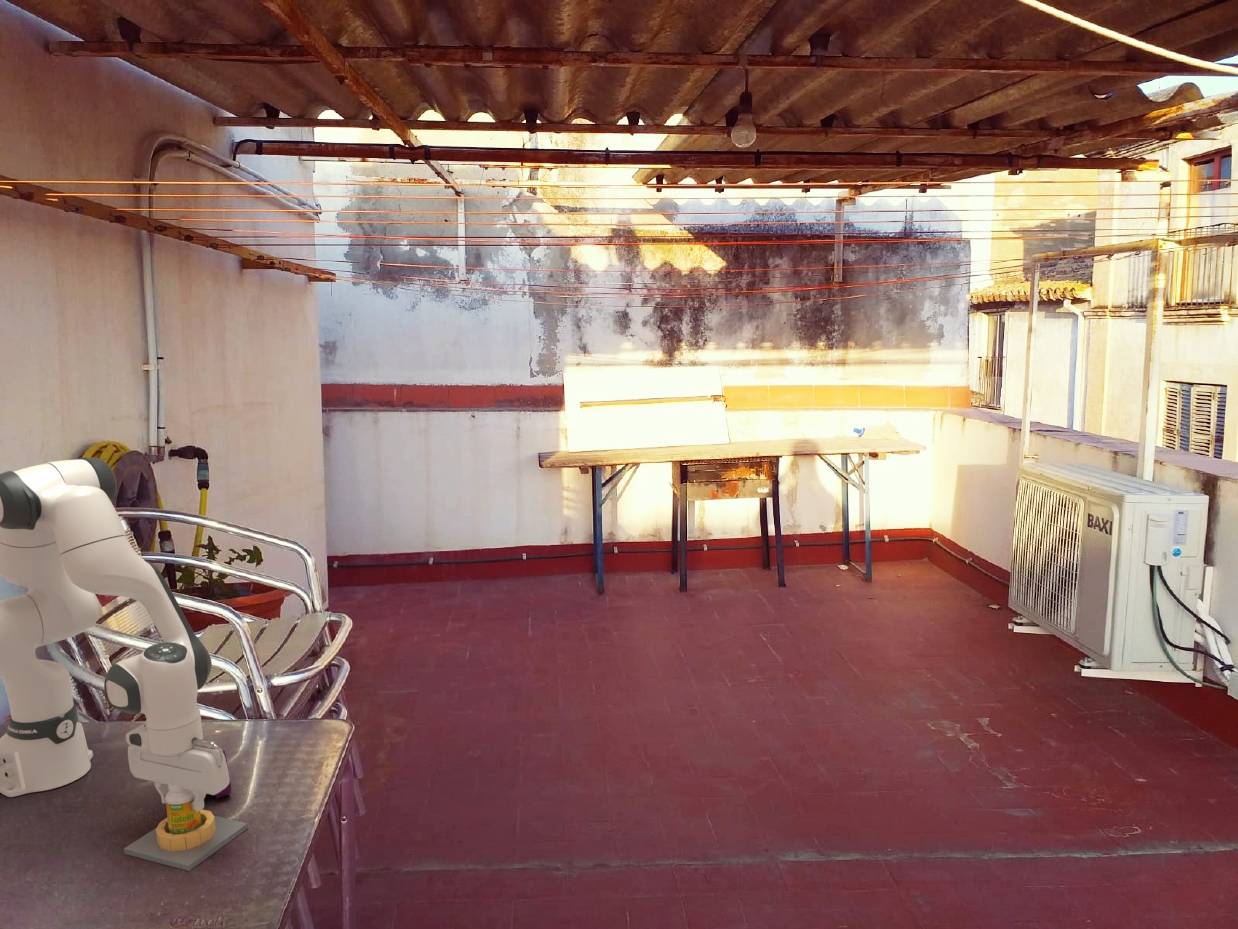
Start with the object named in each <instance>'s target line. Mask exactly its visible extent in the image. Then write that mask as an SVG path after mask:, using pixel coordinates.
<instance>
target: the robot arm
mask: <svg viewBox="0 0 1238 929" xmlns="http://www.w3.org/2000/svg"><path fill="white" fill-rule="evenodd" d="M117 486H118V485H117V479H116V476H115V473H114V471H113V469H112V467H111V465H109V464H108V463H107V462H106V461H105V460H104V459H102V458H98V457H89V456H88V457H79V458H76V459H64V460H55V461H48V462H44V463H42V464H37V465H36V464H35V465H32V466H28V467H24V468H21V469H20V468H19V469H18V470H14V471H12V470H7V471H4V472H1V473H0V577H1V578H2V579H3V580H4V581H5V582H7V583H10V584H12V585H15V586H19V587H23V588H28V590H27V592H26V593H24V594H21V595H16V596H12V597H8V598H4V599H2V600H0V679H1V681H2V683H3V685H4V688H5V693H6V696H7V701H8V705H9V710H10V711H9V712H10V714H9V715H7V716H5V717H3V718H2V719H3V720H4V721H3V723H4V724H6V723H7V728H6V732H5V733H4V734H3V736H1V737H0V793H1V794H2V795H4V796H6V797H8V798H14V797H18V796H22V795H25V794H26V795H27V794H30V793H38V792H44V791H49V790H53V789H56V788H59V787H63V786H65V785H68V784H70V783H73V782H75V781H76V780H79V779H80V778H82V777H83V776H85V775H86V774H88V772H89V771H90V770H91V767H92V763H91V760H92V758H93V757H94V753H93V750H92V749H89V747H88V745H87V741H86V740H87V739H86V736H85V732H84V727H83V725H82V722H79V715H78V714H79V711H78V708H77V704H76V703H75V702H74V697H73V689H72V681H71V674H70V672H69V671H68V669H67V668H66V667H65V666H64V665H63V664H62V663H60V662H57V661H54V660H48V659H41V658H37V654H36V649H37V648H39V647H43V646H46V645H50V644H53V643H58V642H60V641H63V640H67V639H70V638H73V637H75V636H77V635H79V634H80V635H81V633H84V632H85V631H87V630H90V629H92V628H93V627H94V626H95V625H96V623H97V621H98V619H99V616H100V610H101V609H100V601H99V600H98V597H97V595H99V596H100V595H101V596H115V597H117V596H118V597H125V598H128V599H132V600H135V601H137V602H138V603H140V604H141V605H142V606H143V607H144V608H145V610H146V612H147V613H148V615H149V616H150V619H151V620H152V622H153V624H154V626H155V628H156V630H157V631H158V634H159V636H160V637H161V638H162V640H163V642H160V643H155V644H152V645H150V646H148V647H146V648H145V649H144V650H143V651H142V652H141V653H138V654H136V655H133V656H129V657H127V658H124V659H122V660H120V661H117V662H116V663H114V664H112V665H111V666H110V667H109V669H108V670H107V673H106V675H105V677H104V684H103V686H104V688H103V690H104V693H105V698H106V701H107V703H108V704H109V705H110V706H111V707H112V708H114V709H115V710H117V711H119V712H122V713H127V714H131V715H136V714H137V715H138V714H144V715H145V723H143V724H140V725H139V726H136V727H135V728H133V729H132V730H130V731H128V732H126V734H125V741H126V744H128V747H127V759H128V766H129V771H130V773H131V774H132V776H133V777H134V778H137V779H141V780H144V781H149V782H153V783H154V787H155V789H156V790H157V792H158V794H159V795H160V797H161V803H162V804H164V805H166V800H165V797H166V794H167V793H168V791H169V789H168V783H169V784H173V785H177V787H180V788H184V789H188V790H193V795H196V796H195V799H194V800H193V801H191V802H190V806H191V810H193V811H197V812H199V811H200V810H202V809H203V810H204V808H205V798H206V795H211V796H215V794H217V793H219V792H221V791H222V790H224V789H225V788H226V787H227V786H228V784H229V783H230V781H231V777H230V778H229V775H230V771H229V772H228V769H229V766H228V767H227V764H228V762H227V763H226V759H227V758H226V759H225V756H224V754H223V752H222V751H223V750H222V748H220V747H219V745H218V744H217V743H216V742H215V741H212V740H205V739H204V738H203V737H204V735H203V726H202V715H201V711H200V708H199V706H198V703H197V702H198V701H197V698H198V695H199V694H198V692H199V690H200V689H202V688H203V687H204V685H205V684H206V682H207V681H208V678H209V676H210V674H211V671H212V667H213V666H212V665H213V664H212V658H211V656H210V654H209V653H210V652H208V650H207V648H206V646H204V644H203V642H202V641H201V640H200V639H199V637H198V636H197V634H196V633H195V632H194V630H193V628H192V627H191V625H190V623H189V621H188V620H187V617H186V616H185V614H184V612H183V610H182V608H181V607H180V604H179V603H178V600H177V599H176V597H175V595H174V593H173V591H172V590H171V588H170V586H169V585H168V583H167V581H166V579H165V578H164V576H163V574H162V573H161V571H160V570H159V568H158V567H157V566H156V565H155V564H154V563H153V562H150V561H148V560H144V559H143V558H142V557H141V556H140V554H138V553H137V552H136V550H135V549H134V548H133V546H132V545H131V543H130V541H129V539H128V536H127V534H126V531H125V528H124V525H123V523H122V521H121V519H120V516H119V514H118V512H117V510H116V509H115V506H114V505H113V502H114V500H115V497H116V494H117V489H118V487H117Z"/></svg>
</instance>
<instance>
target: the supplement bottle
mask: <svg viewBox="0 0 1238 929" xmlns="http://www.w3.org/2000/svg"><path fill="white" fill-rule="evenodd" d="M168 789H169V791H168V793H167V794H166V797H165V800H166V804H165V808H166V809H165V810H166V816H167V817H166V818H168V826H169V832H170V834H185V833H188V832H191V831H194V830H196V829H198V828H199V827H201V814H200V811H199V812H197V811H193V810H191V806H190V802H191V801H193V800H194V799H195V796H196V795H193V790H188V789H184V788H180V787H177V785H173V784H169V783H168Z"/></svg>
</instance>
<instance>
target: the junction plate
mask: <svg viewBox="0 0 1238 929" xmlns="http://www.w3.org/2000/svg"><path fill="white" fill-rule="evenodd" d="M200 814H201V827H199V828H198V829H196V830H194V831H191V832H188V833H185V834H170V832H169V826H168V818H167V817H166V818H164V819H163V820H161V821H160V822H158V824H157V827H155V828H154V829H152V830H151V831H149V832H147V833H146V834H144V835H143V836H141V837H140V838H139V839H137V840H135V841H134V842H132V843H130V844H129V845H127V846H126V847H124V848H123V852H124V853H123V854H124V855H127V856H130V857H134V858H139V859H142V860H145V861H150V862H153V863H158V864H161V865H164V866H169V867H171V868H176V869H180V870H183V871H186V872H190V871H191V870H192V869H194V868H196V866H198V865H199V864H201V863H202V862H204V861H206V860H207V859H208V858H209V857H211V856H212V855H213V854H215V853H216V852H218V851H219V850H220V849H222V848H223V847H224V846H226V845H228V843H230V842H231V841H232V840H234V839H235V838H236V837H238V836H240V835H241V834H243V833H244V832H245V831H246V829H247V828H249V826H248V823H247V822H243V821H238V820H235V819H230V818H225V817H222V816H218V815H214V814H213V812H212V811H211V810H206V809H204V808H203V809H202V810H200ZM247 830H248V829H247Z"/></svg>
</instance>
